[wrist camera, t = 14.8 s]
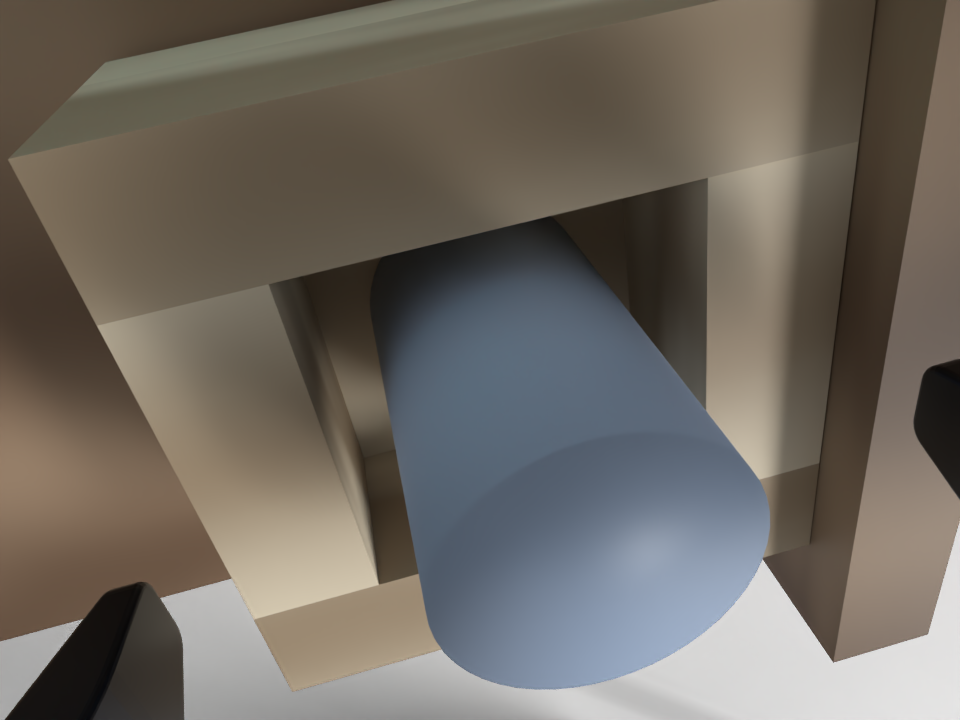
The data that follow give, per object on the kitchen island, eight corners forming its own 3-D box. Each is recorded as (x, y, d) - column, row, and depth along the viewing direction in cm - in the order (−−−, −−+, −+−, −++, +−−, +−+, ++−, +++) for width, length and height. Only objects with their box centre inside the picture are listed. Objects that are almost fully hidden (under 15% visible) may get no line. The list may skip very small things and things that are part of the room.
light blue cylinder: (591, 361, 14) (761, 634, 9) (397, 411, 13) (461, 724, 8) (571, 171, 12) (779, 388, 7) (343, 226, 11) (385, 495, 6)
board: (737, 405, 19) (927, 633, 13) (-247, 669, 17) (-519, 1066, 12) (761, -238, 12) (1203, -344, 6) (-938, 98, 10) (-2613, 402, 4)
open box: (694, 395, 17) (809, 544, 13) (293, 502, 16) (292, 692, 12) (693, -65, 12) (880, -36, 8) (105, 62, 11) (7, 158, 7)
